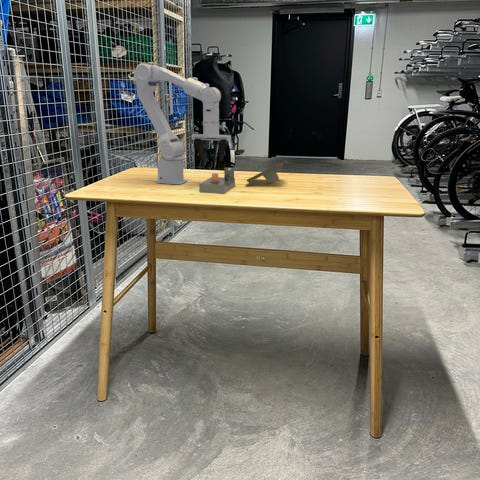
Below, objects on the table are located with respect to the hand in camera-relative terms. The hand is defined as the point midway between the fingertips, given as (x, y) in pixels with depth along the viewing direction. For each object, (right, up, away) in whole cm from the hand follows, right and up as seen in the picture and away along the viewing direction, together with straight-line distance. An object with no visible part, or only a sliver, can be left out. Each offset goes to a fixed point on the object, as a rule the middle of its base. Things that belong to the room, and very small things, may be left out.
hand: (211, 160), depth 157 cm
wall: (+20, -8, +7) cm, 23 cm away
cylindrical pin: (+2, -12, -7) cm, 14 cm away
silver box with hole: (+3, -11, -4) cm, 12 cm away
